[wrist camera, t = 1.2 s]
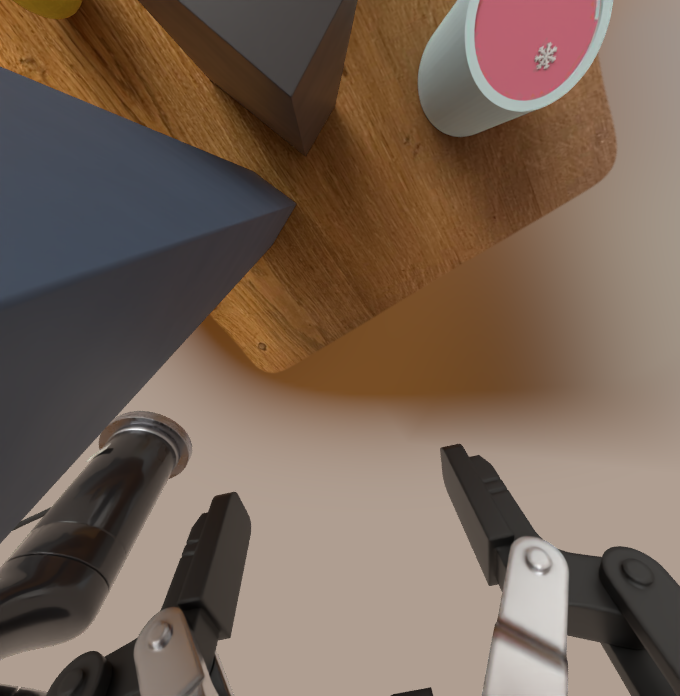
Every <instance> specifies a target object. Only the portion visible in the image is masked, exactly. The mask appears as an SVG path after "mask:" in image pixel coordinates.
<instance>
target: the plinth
mask: <svg viewBox="0 0 680 696" xmlns="http://www.w3.org/2000/svg"><path fill="white" fill-rule="evenodd" d="M138 1H139V2H140V3H141V4H142V5H143V6H144V7H145V8H146V9H147V11H148V12H149V13H150V14H151V15H152V16H153V17H154V18H155V19H156V21H157V22H158V23H159V24H160V25H161V26H162V27H163V28H164V29H165V31H166V32H167V33H168V34H169V35H170V36H171V37H172V38H173V39H174V41H175V42H176V43H177V44H178V45H179V46H180V47H181V48H182V49H183V51H184V52H185V53H186V54H187V55H188V56H189V57H190V58H191V59H192V60H193V62H194V63H195V64H196V65H197V66H198V67H199V68H200V69H201V70H202V72H203V73H204V74H205V75H206V76H207V77H208V78H209V79H210V80H211V81H212V82H214V83H215V84H216V85H217V86H219V87H220V88H221V89H222V90H224V91H225V92H226V93H227V94H229V95H230V96H231V97H232V98H234V99H235V100H236V101H237V102H239V103H240V104H241V105H242V106H244V107H245V108H246V109H247V110H248V111H250V112H251V113H252V114H253V115H255V116H256V117H257V118H258V119H260V120H261V121H262V122H263V123H265V124H266V125H267V126H268V127H270V128H271V129H272V130H273V131H275V132H276V133H277V134H278V135H280V136H281V137H282V138H283V139H284V140H286V141H287V142H288V143H289V144H291V145H292V146H293V147H294V148H296V149H297V150H298V151H299V152H301V153H302V154H303V155H304V156H306V155H307V153H308V152H309V150H310V148H311V147H312V145H313V143H314V141H315V140H316V138H317V136H318V134H319V133H320V131H321V129H322V127H323V126H324V124H325V122H326V121H327V119H328V117H329V115H330V114H331V112H332V110H333V108H334V107H335V104H336V99H337V95H338V90H339V85H340V80H341V76H342V71H343V66H344V61H345V57H346V52H347V47H348V43H349V38H350V33H351V28H352V24H353V19H354V14H355V9H356V5H357V0H138Z"/></svg>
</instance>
